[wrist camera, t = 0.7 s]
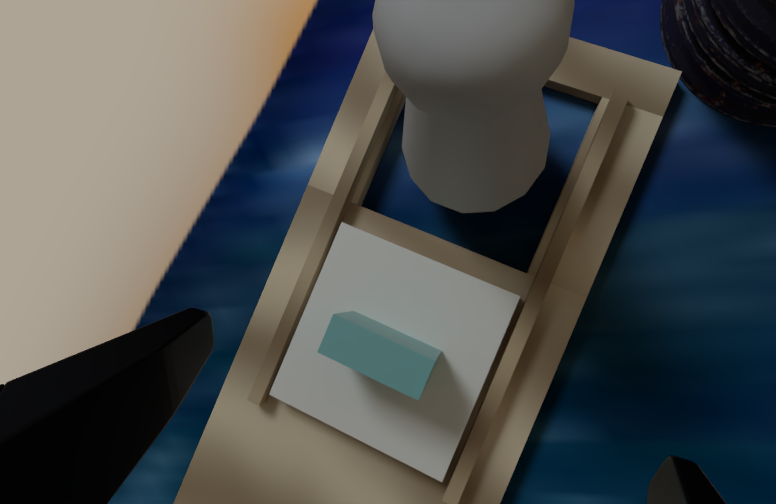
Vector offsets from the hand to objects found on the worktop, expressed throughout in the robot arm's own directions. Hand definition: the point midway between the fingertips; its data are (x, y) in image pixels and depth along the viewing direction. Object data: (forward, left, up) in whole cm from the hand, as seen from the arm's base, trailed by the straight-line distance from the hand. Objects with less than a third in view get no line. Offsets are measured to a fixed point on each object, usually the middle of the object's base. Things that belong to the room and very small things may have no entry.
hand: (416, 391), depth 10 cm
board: (0, +2, -13) cm, 13 cm away
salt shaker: (+8, +2, -13) cm, 15 cm away
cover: (-1, +2, -12) cm, 12 cm away
